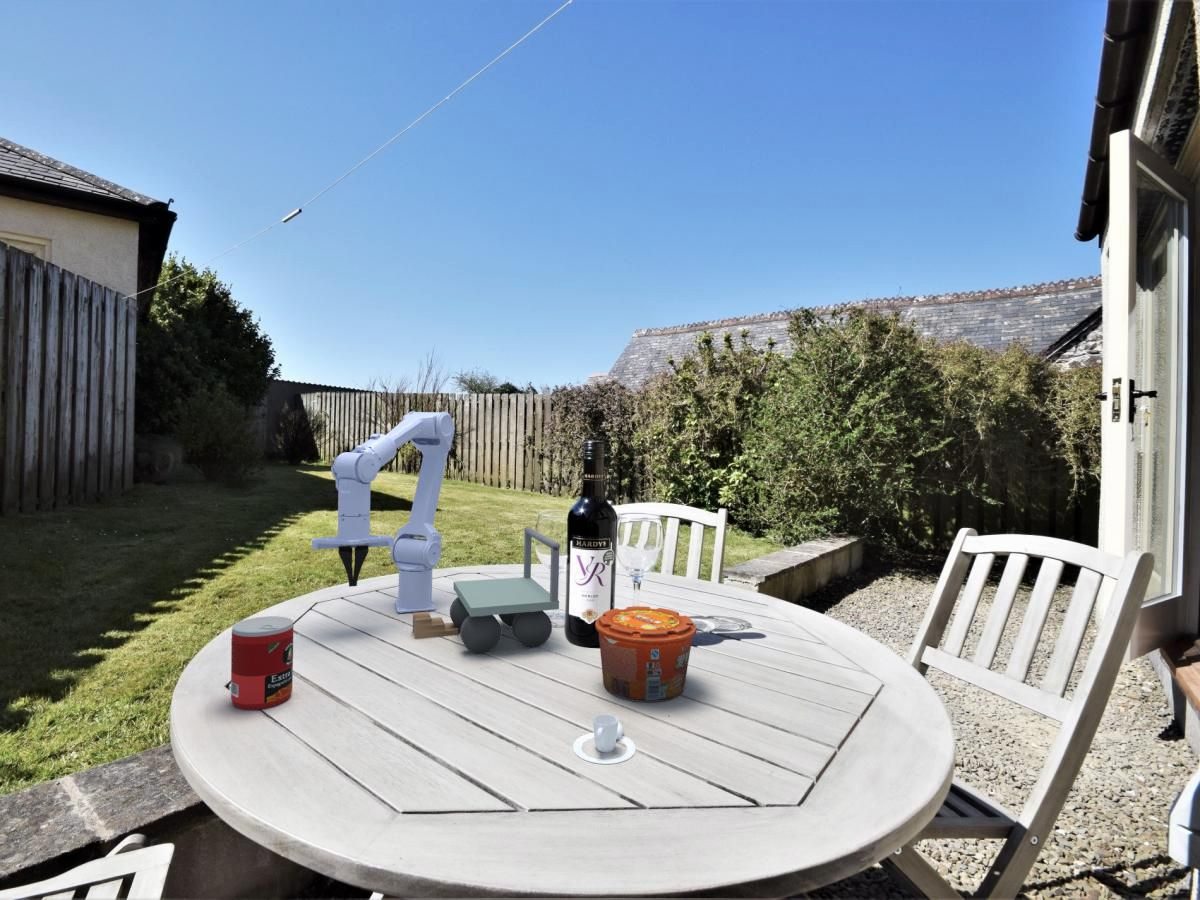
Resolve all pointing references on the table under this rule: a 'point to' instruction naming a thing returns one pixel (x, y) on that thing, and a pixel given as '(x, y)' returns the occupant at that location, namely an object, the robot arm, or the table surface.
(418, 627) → the block
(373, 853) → the table surface
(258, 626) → the canned food
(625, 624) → the food container
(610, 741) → the teacup and saucer
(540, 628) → the trolley
